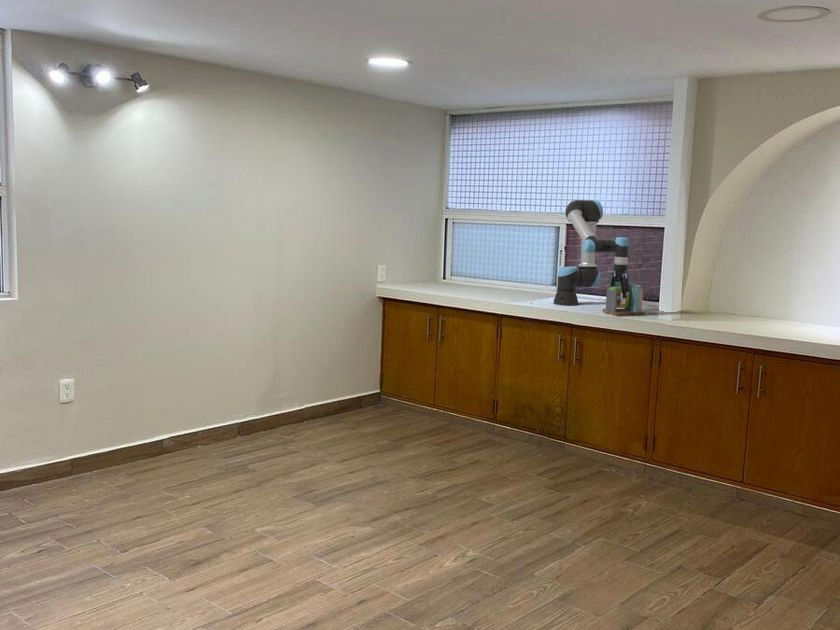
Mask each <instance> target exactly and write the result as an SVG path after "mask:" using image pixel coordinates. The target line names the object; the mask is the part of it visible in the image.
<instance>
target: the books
mask: <svg viewBox="0 0 840 630" xmlns="http://www.w3.org/2000/svg"><path fill="white" fill-rule="evenodd" d="M628 288H629V289H630V291H629V304H628V308H624V309H626V310H630V311H633V312H643V311H642V310H643V297H644V296H643V295H644V289H643V288H642V285H640V284H635V283H628Z"/></svg>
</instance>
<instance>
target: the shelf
mask: <svg viewBox="0 0 840 630" xmlns="http://www.w3.org/2000/svg"><path fill="white" fill-rule="evenodd" d="M603 312H605V313H604V314H607V313H608V314H607V315H610V314H612V315H611V316H614V315H615V316H614V317H645V316H644V315H646V313H645V311H642V312H633V311H630V310H626V309H625V308H616V312H613V311H609V310H606V308H602V313H603ZM634 315H635V316H634ZM636 315H637V316H636ZM638 315H639V316H638ZM640 315H641V316H640ZM642 315H643V316H642Z"/></svg>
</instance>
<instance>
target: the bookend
mask: <svg viewBox="0 0 840 630" xmlns="http://www.w3.org/2000/svg"><path fill="white" fill-rule="evenodd" d="M605 296H606V297H605V309H606V310H609V311H613V312H616V309H617V308H616V301H617V291H614V290H610V289H609V288H606V295H605Z"/></svg>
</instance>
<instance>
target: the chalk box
mask: <svg viewBox="0 0 840 630" xmlns="http://www.w3.org/2000/svg"><path fill="white" fill-rule="evenodd" d="M617 284H618V285H617ZM619 284H620V282H615V287H610V286H609V287H608V289H610V290H614V291H617V301H616V309H625V308H628V304H629V292H627V293H626V301H625V304H621V292H622V289H621V284H620V285H619ZM629 291H630V289H629Z"/></svg>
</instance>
